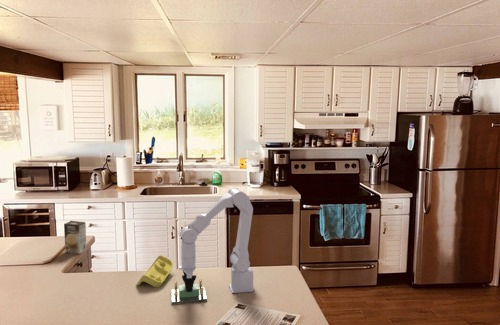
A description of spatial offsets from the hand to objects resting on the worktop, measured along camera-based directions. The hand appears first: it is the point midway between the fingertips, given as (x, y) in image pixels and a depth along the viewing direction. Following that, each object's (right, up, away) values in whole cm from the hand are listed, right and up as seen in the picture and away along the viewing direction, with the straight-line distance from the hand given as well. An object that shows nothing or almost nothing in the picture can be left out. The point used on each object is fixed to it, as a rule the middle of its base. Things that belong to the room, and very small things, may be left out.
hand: (188, 287), depth 155 cm
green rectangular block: (0, -3, 0) cm, 3 cm away
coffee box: (-70, +3, +49) cm, 85 cm away
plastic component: (-17, -2, +17) cm, 24 cm away
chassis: (0, -4, 0) cm, 4 cm away
